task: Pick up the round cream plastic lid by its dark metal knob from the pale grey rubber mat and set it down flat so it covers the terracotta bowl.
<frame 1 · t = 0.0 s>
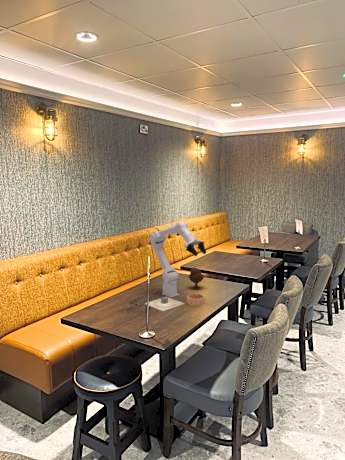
hand: (201, 254, 220), 32 cm above the table, tool tilted 50°, fingers open, 7 cm apart
bowl: (196, 303, 229), on the table
lid: (164, 303, 228), resting on mat
ice cream bowl: (196, 288, 259), on the table
mat: (164, 304, 228), on the table
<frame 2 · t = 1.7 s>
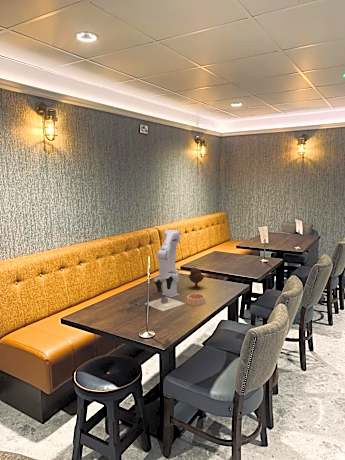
hand: (164, 290, 227), 9 cm above the table, tool pointing down, fingers open, 7 cm apart
nothing on the table moved.
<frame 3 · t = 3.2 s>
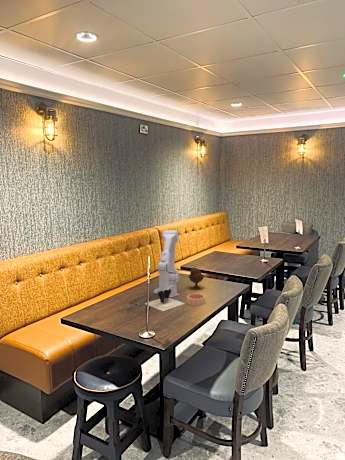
hand: (164, 301, 228), 2 cm above the table, tool pointing down, fingers closed on lid, 3 cm apart
lid: (164, 303, 228), resting on mat, touching gripper
everything else where it was.
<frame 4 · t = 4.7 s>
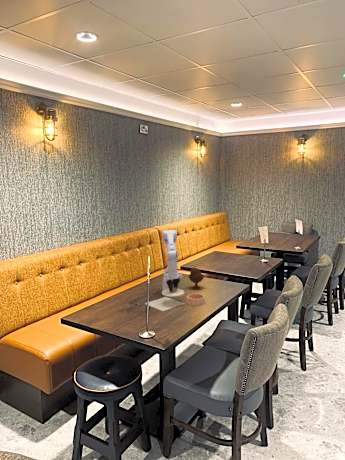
hand: (173, 290, 227), 9 cm above the table, tool pointing down, fingers closed on lid, 3 cm apart
lid: (173, 292, 227), point 7 cm above the table, touching gripper
everything else where it was.
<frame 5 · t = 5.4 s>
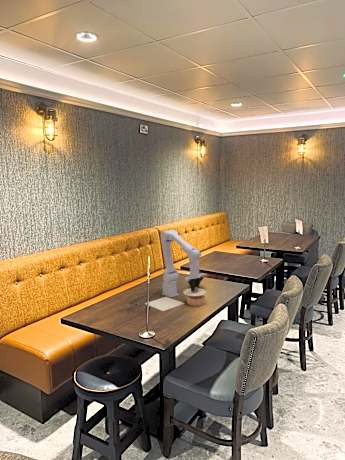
hand: (194, 290, 227), 9 cm above the table, tool pointing down, fingers closed on lid, 3 cm apart
lid: (194, 292, 228), point 7 cm above the table, touching gripper
everything else where it was.
when the fingers open (7 cm above the table, at t = 6.2 s): lid stays where it is, resting on bowl.
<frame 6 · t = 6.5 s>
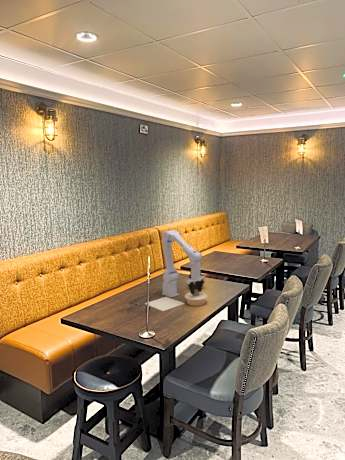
hand: (195, 292, 228), 7 cm above the table, tool pointing down, fingers open, 6 cm apart
lid: (195, 296, 228), point 4 cm above the table, touching bowl
everything else where it was.
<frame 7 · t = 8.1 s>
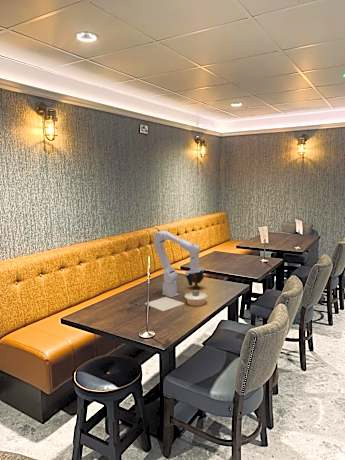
hand: (194, 283, 236), 10 cm above the table, tool pointing down, fingers open, 7 cm apart
nothing on the table moved.
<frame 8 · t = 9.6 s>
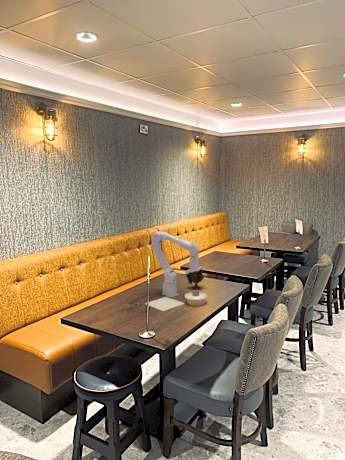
hand: (194, 282, 239), 10 cm above the table, tool pointing down, fingers open, 7 cm apart
nothing on the table moved.
at the end: lid 0.2 cm off-centre on the bowl, point 4.5 cm above the bowl's base; lid tilted 0°; the gripper is holding nothing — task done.
